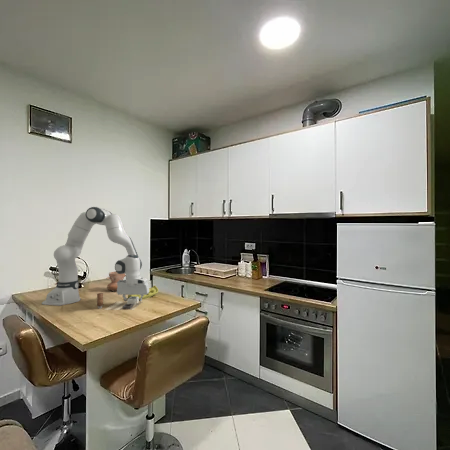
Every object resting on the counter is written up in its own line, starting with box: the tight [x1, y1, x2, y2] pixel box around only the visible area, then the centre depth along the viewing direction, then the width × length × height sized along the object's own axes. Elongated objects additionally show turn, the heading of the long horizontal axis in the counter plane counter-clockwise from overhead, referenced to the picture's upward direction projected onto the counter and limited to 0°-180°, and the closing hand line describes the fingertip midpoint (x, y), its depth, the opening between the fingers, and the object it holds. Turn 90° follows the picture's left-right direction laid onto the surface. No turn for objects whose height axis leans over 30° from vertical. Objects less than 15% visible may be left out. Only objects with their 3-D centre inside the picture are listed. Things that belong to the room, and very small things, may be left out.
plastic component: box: [127, 285, 159, 300], centre depth 176 cm, size 20×7×10 cm
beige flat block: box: [103, 301, 143, 311], centre depth 157 cm, size 18×16×3 cm
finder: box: [126, 296, 140, 305], centre depth 161 cm, size 6×5×4 cm
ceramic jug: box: [106, 270, 126, 292], centre depth 200 cm, size 18×14×14 cm
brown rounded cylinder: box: [96, 292, 104, 310], centre depth 152 cm, size 3×3×10 cm
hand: (133, 301), depth 161 cm, fingers open, 8 cm apart
